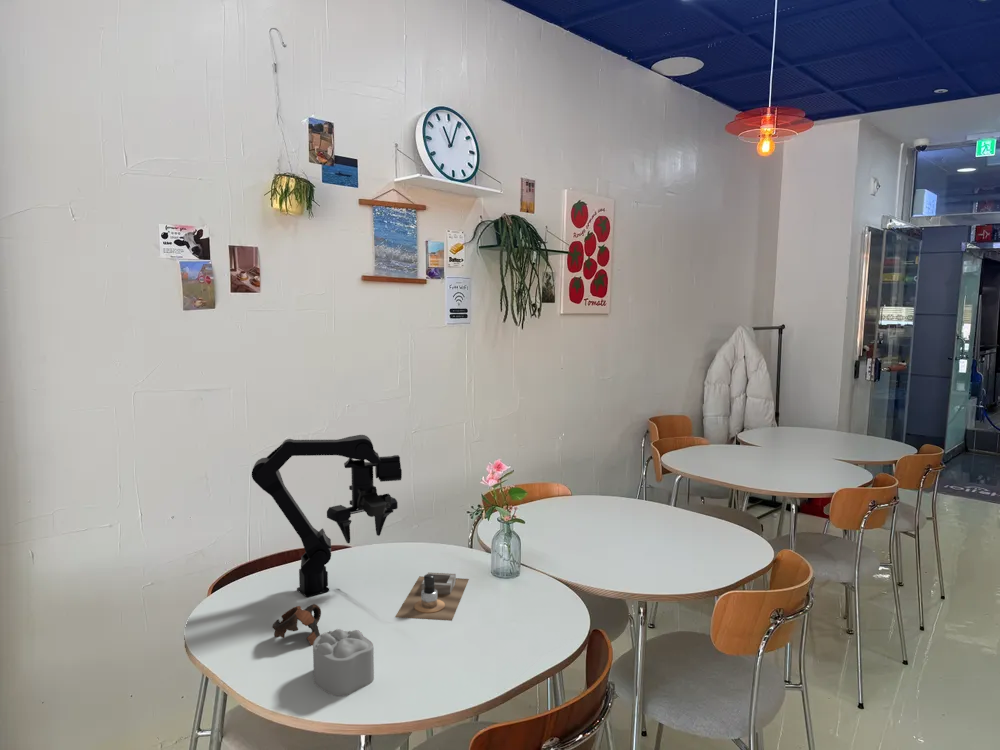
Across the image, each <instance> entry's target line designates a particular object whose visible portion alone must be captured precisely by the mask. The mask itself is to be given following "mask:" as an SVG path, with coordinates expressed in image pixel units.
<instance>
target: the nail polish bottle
mask: <svg viewBox="0 0 1000 750" xmlns="http://www.w3.org/2000/svg"><path fill="white" fill-rule="evenodd" d="M423 577H424V590H422V591H421V606H422V607H423V608H426V609H431V608H435V607H437V605H438V602H437V590H436V589H435V576H434V575H433V574H428V573H426V574H425V575H424V576H423Z"/></svg>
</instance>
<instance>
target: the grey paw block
mask: <svg viewBox="0 0 1000 750" xmlns="http://www.w3.org/2000/svg"><path fill="white" fill-rule="evenodd" d="M374 653H375V652H374V643H373V642H372V640H370V639H368V638H367V637H366V636H365V635H364V634H363V633H362V631H361V630H358V629H354V630H349V631H348V630H347V631H346V630H343V629H341V628H336V629H334V630H332V631H331V630H329V631H327V632H324V633H320V636H318V637H317V638H316V639H315V641H314V643H313V645H312V656H313V657H312V658H313V661H312V662H313V682H314V684H315V685H316V687H318V688H319V689H321V690H322V691H324V692H326V693H328V695H332V696H336V697H343V696H344V697H345V696H348V695H350V694H352V693H354V692H356V691H357V690H359V689H361V688H364V687H366V686H369V685H371V684H372V683H373V682H374V680H375V660H374V659H375V657H374Z"/></svg>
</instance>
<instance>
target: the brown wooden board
mask: <svg viewBox="0 0 1000 750" xmlns="http://www.w3.org/2000/svg"><path fill="white" fill-rule="evenodd" d="M427 574H433V575H434V576H435V589H436V590H437V602H438V605H437V607H435V608H431V609H426V608H423V607H422V606H421V591H422V590H424V576H419V577H418V578H417V580H416V581H415V582H414V585H413V586H412V588H411V590H410V592H409V593H408V595H407V596H406V598H405V600H404V601H403V603H402V604H401V606H400V608H399V610H398V611H397V612H396V615H395V616H394V618H399V619H400V618H401V619H416V620H417V619H419V620H433V621H434V620H435V621H438V620H439V621H451V622H452V621H453V619H454V617H455V614H456V612H457V609H458V607H459V604H460V602H461V600H462V597H463V595H464V592H465V590H466V588H467V585H468V583H469V580H470V578H457V577H456V573H448V572H447V573H445V572H444V573H443V572H427Z"/></svg>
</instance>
